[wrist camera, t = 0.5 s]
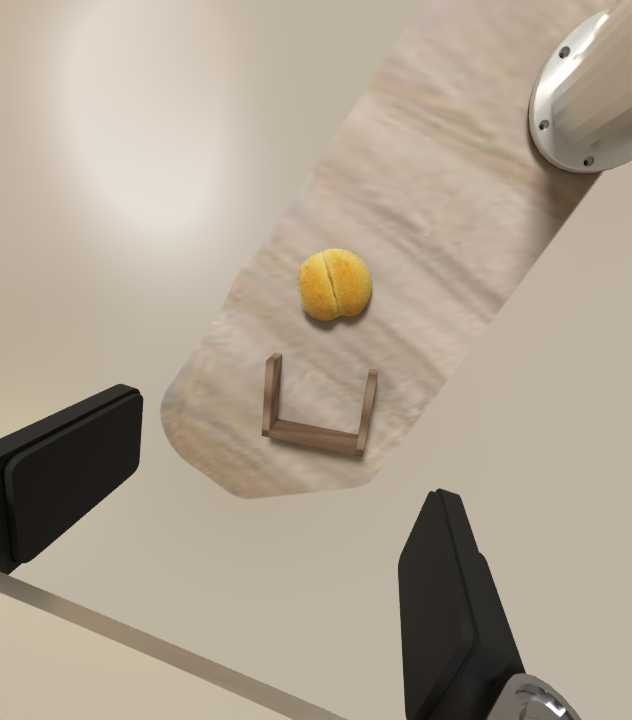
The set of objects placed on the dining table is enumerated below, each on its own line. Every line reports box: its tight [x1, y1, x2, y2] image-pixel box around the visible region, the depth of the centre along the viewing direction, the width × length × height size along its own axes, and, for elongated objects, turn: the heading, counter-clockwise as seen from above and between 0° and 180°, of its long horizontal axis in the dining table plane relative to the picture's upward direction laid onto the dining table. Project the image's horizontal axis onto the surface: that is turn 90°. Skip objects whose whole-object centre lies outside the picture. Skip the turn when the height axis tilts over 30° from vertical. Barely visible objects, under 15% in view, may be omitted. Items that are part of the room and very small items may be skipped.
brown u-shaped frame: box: [262, 353, 377, 457], centre depth 43 cm, size 11×14×4 cm
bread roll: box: [298, 249, 372, 321], centre depth 38 cm, size 8×9×4 cm
